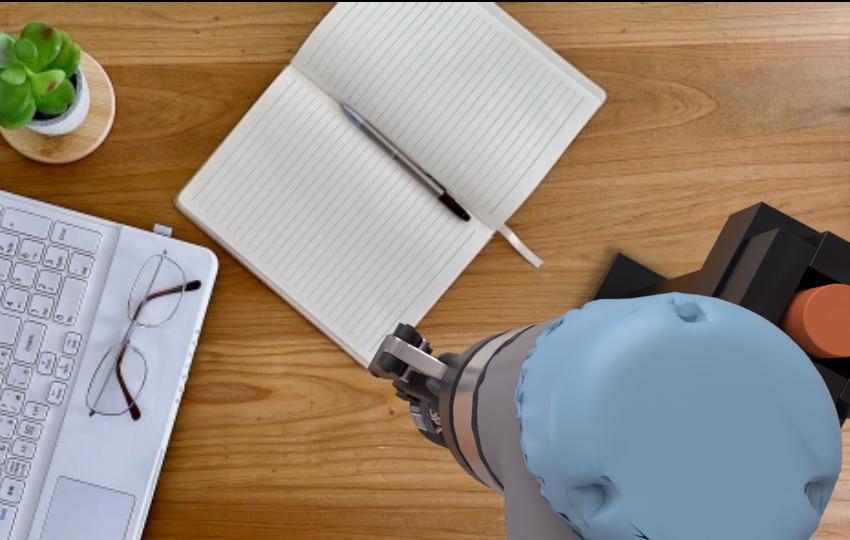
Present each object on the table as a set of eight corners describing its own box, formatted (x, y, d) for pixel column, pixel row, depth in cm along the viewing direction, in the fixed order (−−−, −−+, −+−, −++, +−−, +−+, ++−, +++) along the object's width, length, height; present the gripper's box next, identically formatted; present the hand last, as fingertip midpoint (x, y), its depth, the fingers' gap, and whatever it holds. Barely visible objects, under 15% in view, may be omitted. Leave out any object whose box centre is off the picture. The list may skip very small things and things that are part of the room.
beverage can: (507, 396, 59) (557, 397, 48) (459, 463, 59) (498, 482, 47) (439, 346, 60) (472, 335, 48) (391, 412, 60) (412, 418, 48)
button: (822, 372, 50) (860, 370, 46) (758, 337, 50) (791, 332, 47) (853, 313, 50) (892, 307, 47) (789, 278, 50) (823, 270, 47)
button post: (674, 444, 73) (882, 473, 47) (548, 372, 74) (680, 359, 48) (739, 323, 74) (977, 284, 48) (613, 253, 75) (777, 178, 49)
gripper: (784, 452, 36) (597, 428, 59) (391, 229, 38) (359, 290, 61) (700, 613, 35) (544, 525, 58) (305, 377, 37) (305, 382, 60)
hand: (450, 405), depth 59 cm, fingers closed on beverage can, 6 cm apart
